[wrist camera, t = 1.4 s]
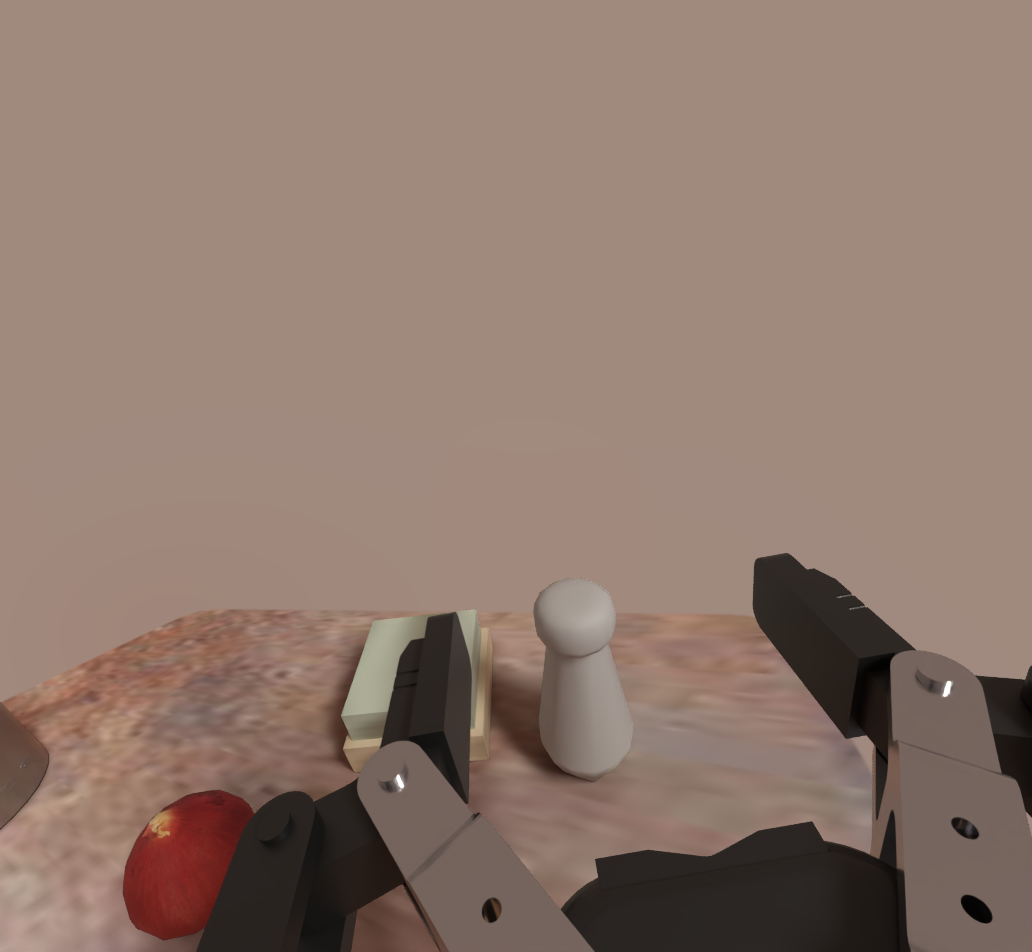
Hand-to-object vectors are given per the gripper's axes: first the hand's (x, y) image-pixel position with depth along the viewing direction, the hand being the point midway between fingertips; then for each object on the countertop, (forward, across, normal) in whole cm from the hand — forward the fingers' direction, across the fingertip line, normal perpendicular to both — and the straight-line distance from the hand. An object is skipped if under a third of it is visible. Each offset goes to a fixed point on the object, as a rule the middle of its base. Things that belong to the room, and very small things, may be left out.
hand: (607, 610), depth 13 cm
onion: (+6, +22, +20) cm, 30 cm away
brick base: (+16, +11, +20) cm, 27 cm away
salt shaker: (+11, +1, +20) cm, 23 cm away
